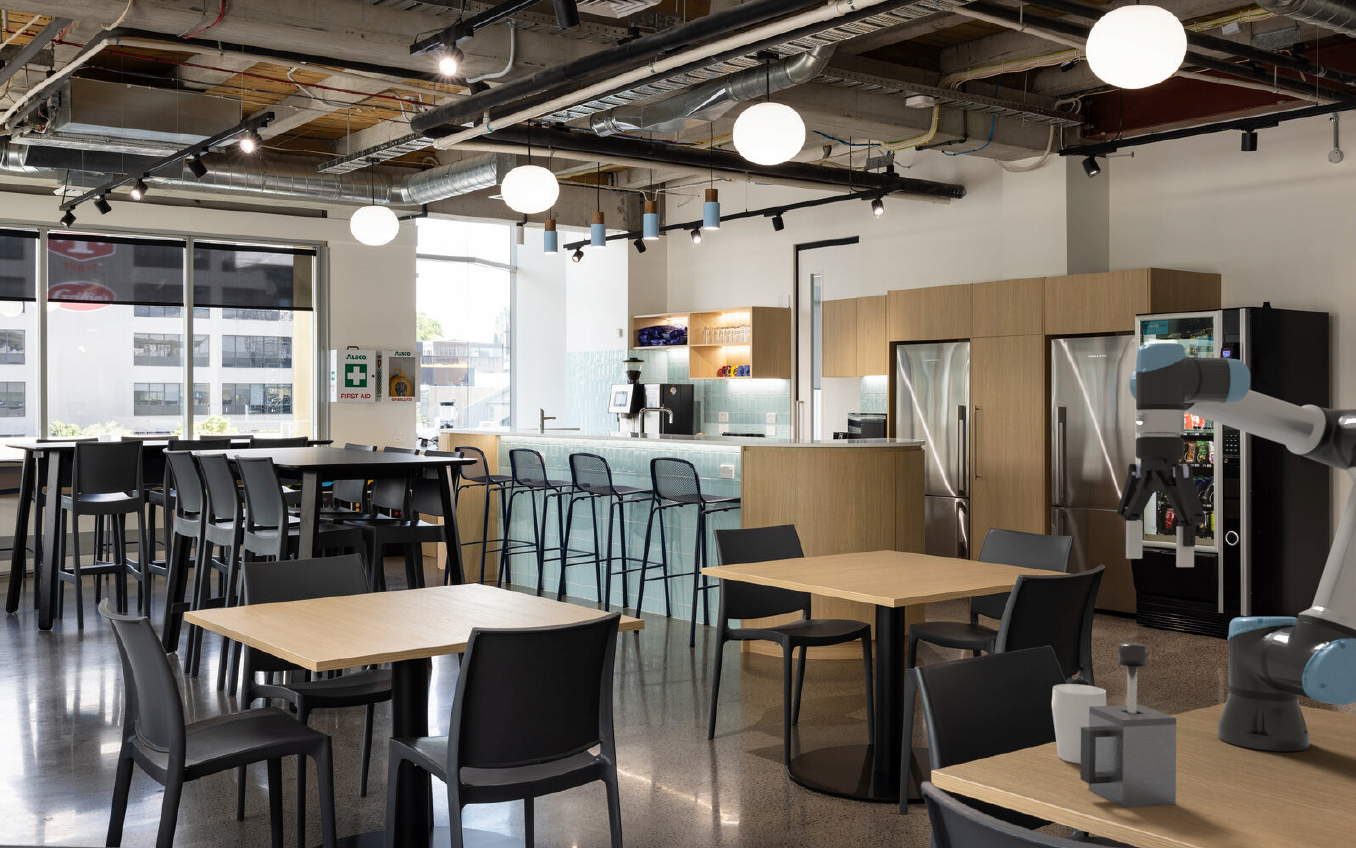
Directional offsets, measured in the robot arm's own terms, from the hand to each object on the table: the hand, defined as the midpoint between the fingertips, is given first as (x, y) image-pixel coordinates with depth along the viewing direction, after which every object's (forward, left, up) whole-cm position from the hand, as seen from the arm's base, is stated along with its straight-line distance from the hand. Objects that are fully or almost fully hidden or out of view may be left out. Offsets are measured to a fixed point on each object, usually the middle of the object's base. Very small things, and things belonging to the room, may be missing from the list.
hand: (1158, 562), depth 193 cm
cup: (+9, -9, -35) cm, 37 cm away
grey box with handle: (+15, +12, -35) cm, 40 cm away
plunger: (+13, +12, -32) cm, 36 cm away
